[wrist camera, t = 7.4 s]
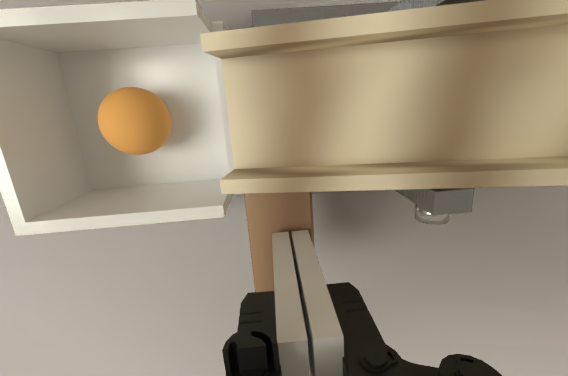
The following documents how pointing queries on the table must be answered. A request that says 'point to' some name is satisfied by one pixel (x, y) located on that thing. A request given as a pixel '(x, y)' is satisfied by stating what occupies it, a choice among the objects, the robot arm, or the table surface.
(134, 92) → the ball
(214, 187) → the white open box
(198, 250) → the table surface
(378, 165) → the lever
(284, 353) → the robot arm
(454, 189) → the stand
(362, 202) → the table surface
